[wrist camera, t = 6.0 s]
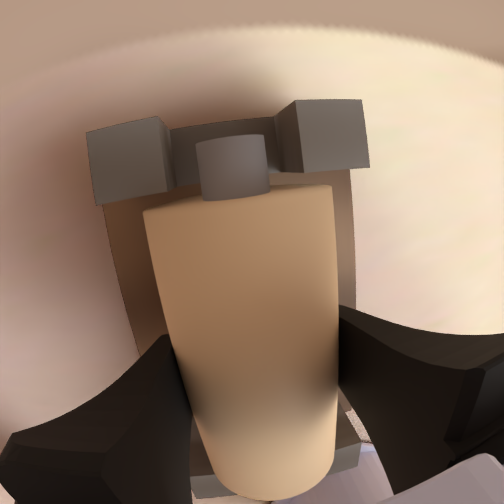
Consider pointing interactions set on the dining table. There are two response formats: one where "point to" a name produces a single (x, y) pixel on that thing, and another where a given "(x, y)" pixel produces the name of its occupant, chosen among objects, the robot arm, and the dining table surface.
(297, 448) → the paper roll
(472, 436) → the robot arm
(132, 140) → the roll holder
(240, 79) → the dining table surface
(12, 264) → the dining table surface
